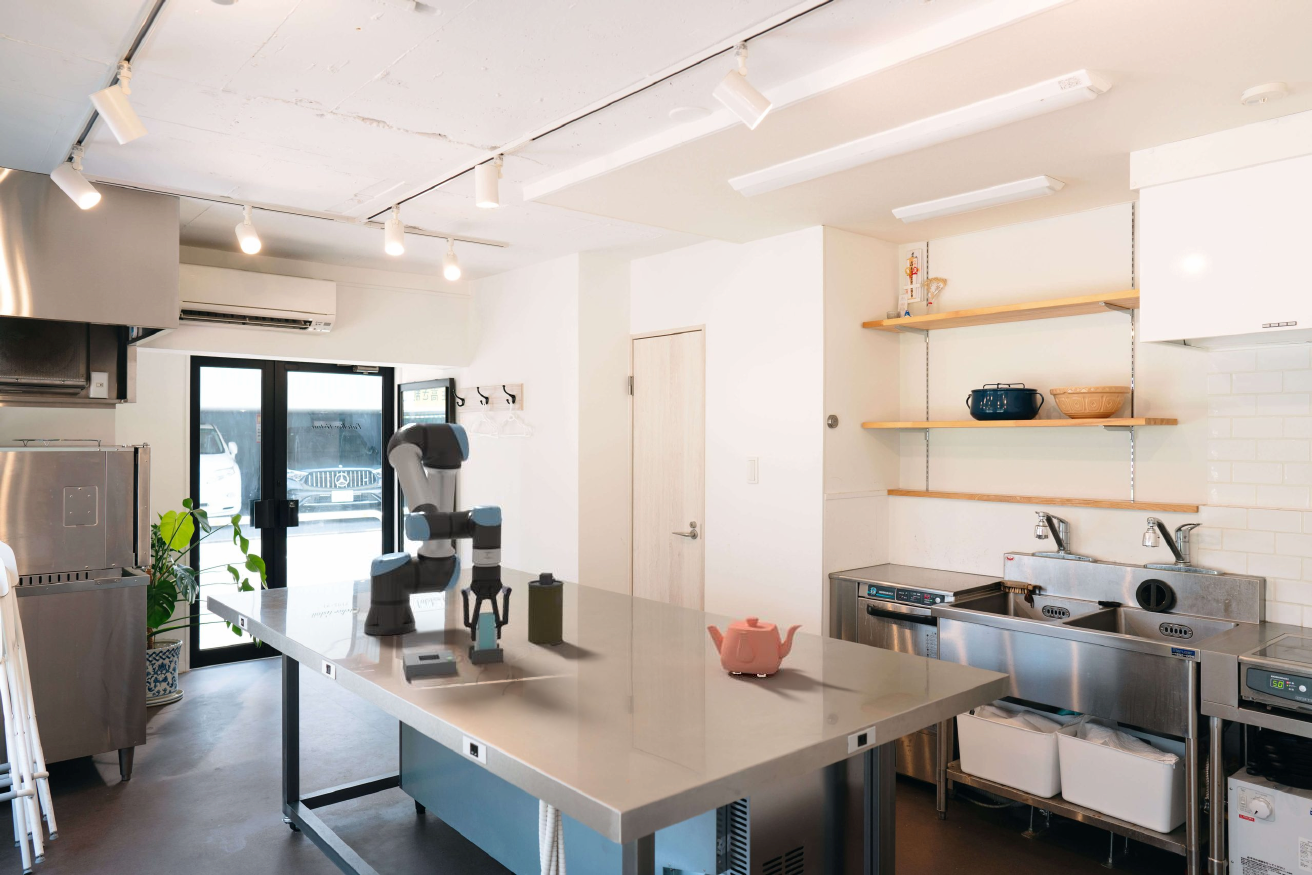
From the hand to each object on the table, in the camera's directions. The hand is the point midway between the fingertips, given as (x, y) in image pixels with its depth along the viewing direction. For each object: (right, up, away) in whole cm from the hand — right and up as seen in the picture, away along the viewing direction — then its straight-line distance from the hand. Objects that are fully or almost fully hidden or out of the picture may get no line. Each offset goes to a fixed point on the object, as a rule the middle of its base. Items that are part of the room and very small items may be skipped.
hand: (485, 652), depth 222 cm
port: (-12, -2, -10) cm, 16 cm away
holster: (0, -2, 0) cm, 2 cm away
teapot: (+70, -3, -8) cm, 71 cm away
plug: (0, -2, 0) cm, 2 cm away
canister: (+13, -3, +23) cm, 26 cm away
